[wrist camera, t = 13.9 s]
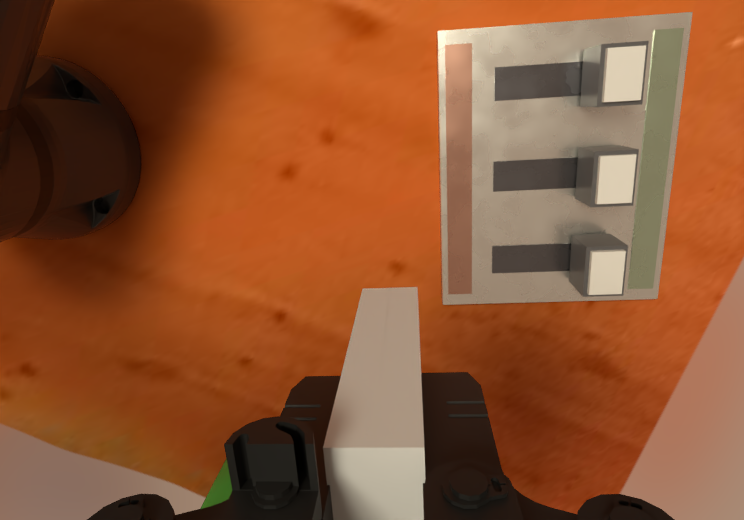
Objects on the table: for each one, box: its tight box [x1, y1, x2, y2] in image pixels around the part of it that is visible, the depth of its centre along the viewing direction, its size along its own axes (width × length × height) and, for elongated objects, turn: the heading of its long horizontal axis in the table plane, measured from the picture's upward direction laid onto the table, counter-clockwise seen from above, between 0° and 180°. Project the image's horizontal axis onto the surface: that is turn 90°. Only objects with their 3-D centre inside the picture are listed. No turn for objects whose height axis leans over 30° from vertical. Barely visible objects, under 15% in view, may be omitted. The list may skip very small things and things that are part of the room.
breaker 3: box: [569, 234, 628, 297], centre depth 39 cm, size 3×4×4 cm
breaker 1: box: [580, 41, 649, 107], centre depth 35 cm, size 3×4×4 cm
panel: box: [437, 12, 692, 305], centre depth 40 cm, size 18×22×2 cm
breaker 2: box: [575, 145, 639, 207], centre depth 37 cm, size 3×4×4 cm
